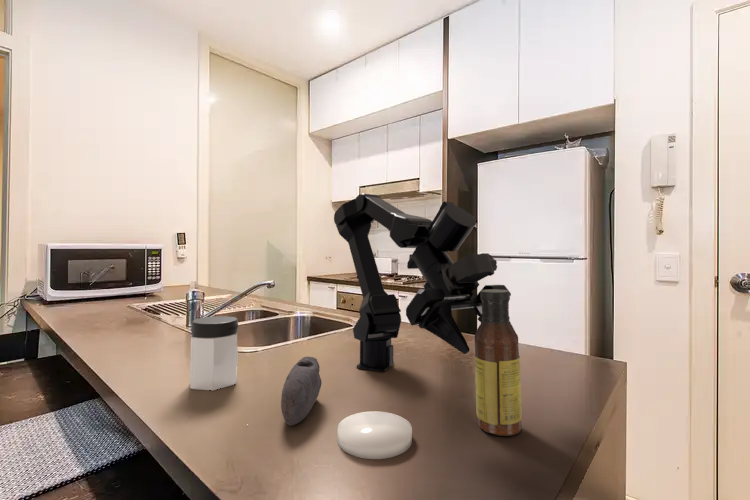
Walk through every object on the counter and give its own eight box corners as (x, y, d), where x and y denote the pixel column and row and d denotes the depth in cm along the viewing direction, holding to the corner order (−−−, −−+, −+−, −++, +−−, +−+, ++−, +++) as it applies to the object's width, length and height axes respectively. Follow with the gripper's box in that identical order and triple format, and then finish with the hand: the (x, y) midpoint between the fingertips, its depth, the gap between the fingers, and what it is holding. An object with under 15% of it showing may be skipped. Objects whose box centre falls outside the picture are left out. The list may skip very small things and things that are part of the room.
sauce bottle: (520, 422, 55) (521, 289, 55) (522, 442, 49) (523, 293, 49) (475, 415, 57) (476, 287, 58) (472, 433, 52) (473, 291, 52)
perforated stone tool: (305, 436, 51) (305, 385, 51) (267, 435, 51) (267, 384, 51) (325, 394, 65) (325, 354, 66) (295, 393, 66) (296, 354, 66)
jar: (237, 388, 68) (238, 322, 68) (187, 394, 65) (188, 325, 65) (237, 373, 76) (238, 314, 76) (193, 377, 73) (194, 316, 73)
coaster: (323, 448, 47) (323, 436, 47) (357, 416, 57) (357, 406, 57) (397, 466, 43) (397, 454, 43) (420, 429, 53) (420, 418, 53)
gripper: (417, 234, 55) (474, 321, 45) (501, 238, 64) (562, 309, 55) (387, 284, 61) (431, 369, 52) (467, 280, 71) (517, 351, 62)
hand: (489, 348), depth 55 cm, fingers open, 9 cm apart
